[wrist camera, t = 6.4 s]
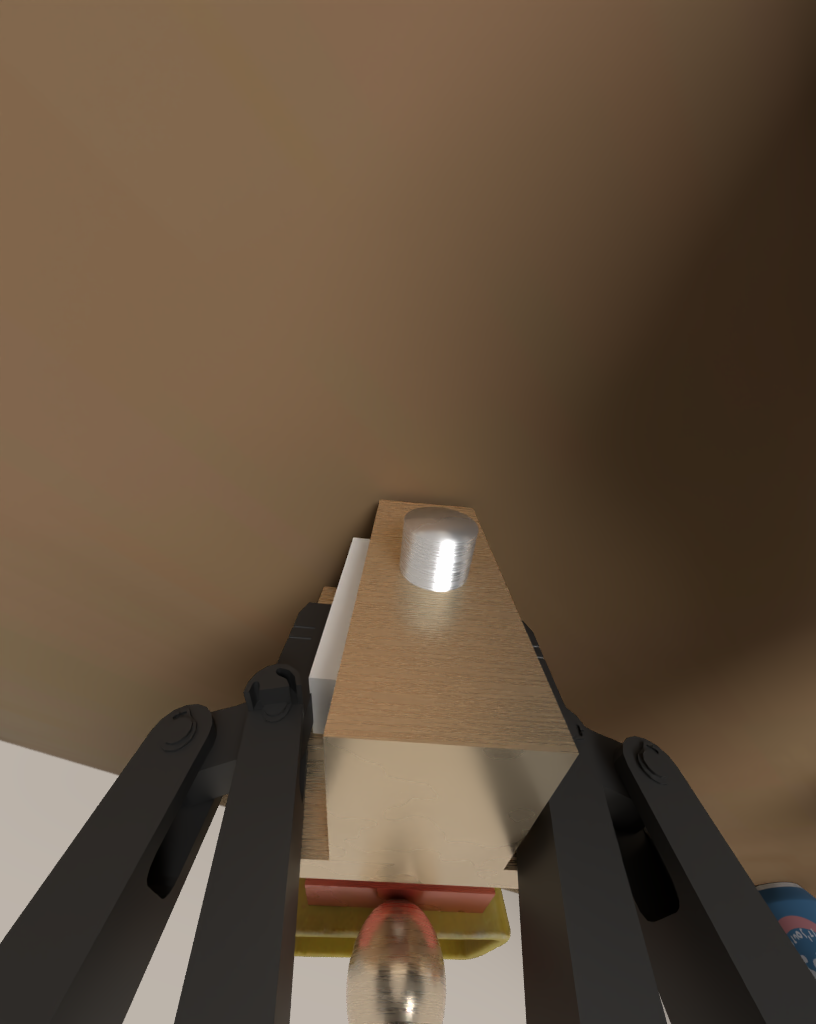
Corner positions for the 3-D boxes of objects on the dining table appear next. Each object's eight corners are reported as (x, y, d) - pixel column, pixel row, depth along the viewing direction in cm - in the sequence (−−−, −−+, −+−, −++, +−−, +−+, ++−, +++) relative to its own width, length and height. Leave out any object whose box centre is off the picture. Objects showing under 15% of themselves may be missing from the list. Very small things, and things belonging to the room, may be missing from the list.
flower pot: (450, 744, 22) (471, 965, 14) (332, 739, 22) (288, 961, 14) (469, 674, 18) (516, 941, 10) (321, 668, 17) (249, 934, 10)
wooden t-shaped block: (538, 479, 12) (1154, 1025, 2) (475, 684, 18) (556, 1092, 8) (320, 458, 12) (-192, 973, 2) (328, 673, 18) (216, 1082, 8)
